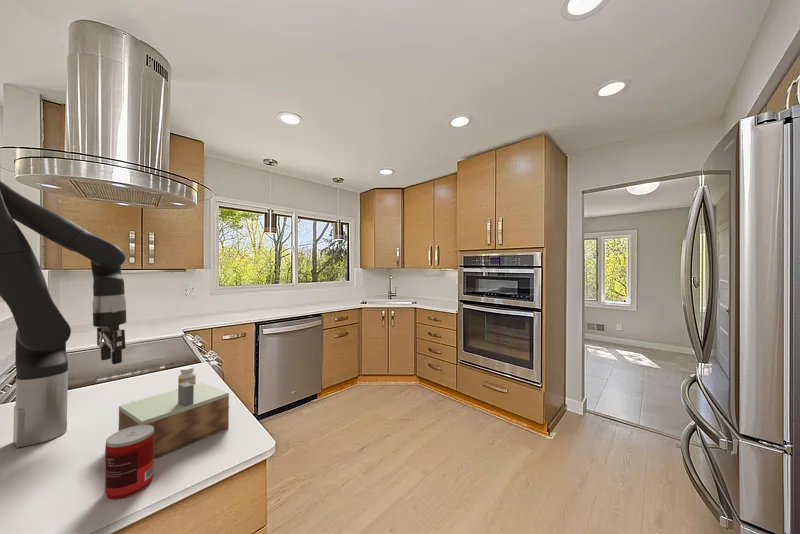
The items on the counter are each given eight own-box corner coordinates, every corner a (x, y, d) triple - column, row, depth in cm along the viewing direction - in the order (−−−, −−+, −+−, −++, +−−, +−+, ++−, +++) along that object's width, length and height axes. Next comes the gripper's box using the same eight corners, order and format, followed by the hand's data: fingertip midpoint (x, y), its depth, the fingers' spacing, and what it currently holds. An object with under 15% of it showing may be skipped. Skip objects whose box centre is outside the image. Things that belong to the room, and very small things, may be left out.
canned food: (148, 469, 69) (149, 420, 69) (157, 485, 63) (158, 432, 64) (101, 488, 63) (102, 434, 63) (107, 506, 58) (108, 448, 58)
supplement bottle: (194, 395, 111) (194, 368, 112) (176, 397, 109) (177, 371, 109) (196, 390, 116) (196, 365, 116) (179, 392, 114) (179, 367, 114)
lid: (142, 425, 70) (142, 399, 71) (118, 409, 79) (119, 386, 79) (228, 396, 87) (228, 375, 87) (201, 385, 96) (202, 366, 96)
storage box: (141, 465, 70) (142, 426, 70) (118, 444, 79) (118, 410, 79) (228, 427, 87) (228, 396, 87) (201, 414, 96) (201, 385, 96)
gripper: (84, 310, 94) (86, 361, 94) (102, 312, 87) (103, 368, 87) (116, 307, 100) (117, 355, 101) (134, 309, 93) (136, 361, 94)
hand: (111, 361), depth 94 cm, fingers open, 8 cm apart
